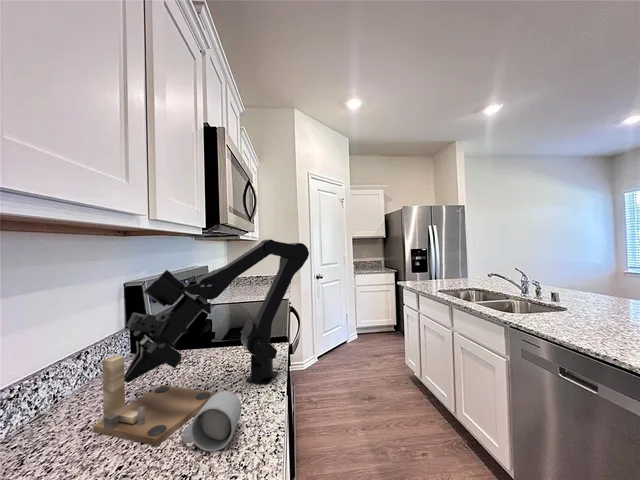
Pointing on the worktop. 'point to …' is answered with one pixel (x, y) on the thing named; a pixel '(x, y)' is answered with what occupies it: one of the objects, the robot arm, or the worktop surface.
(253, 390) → the worktop surface
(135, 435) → the stool seat
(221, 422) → the ceramic mug
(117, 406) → the hinged leg
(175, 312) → the robot arm
